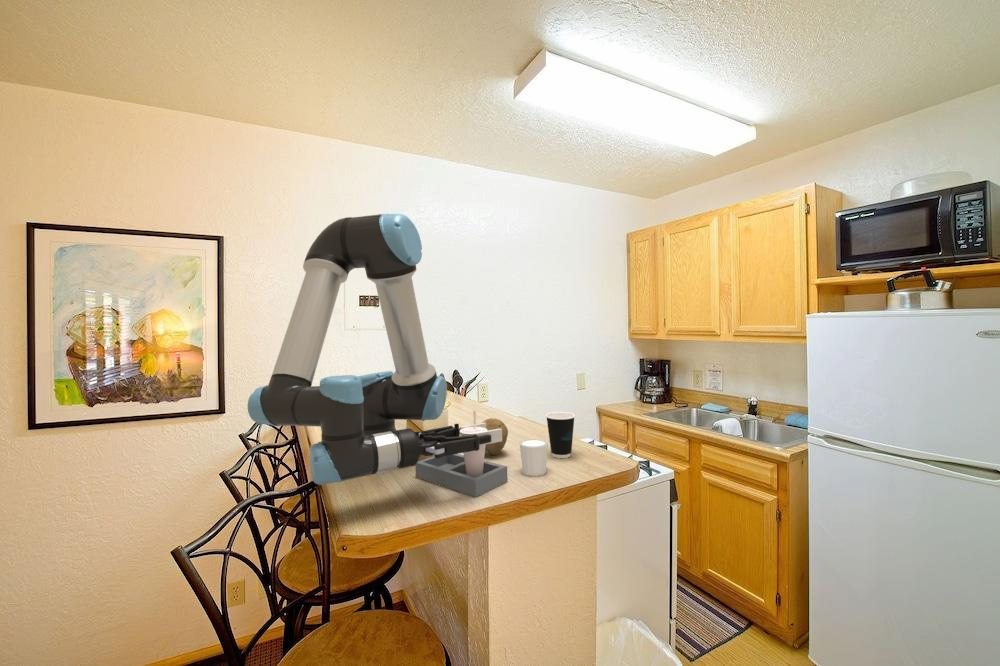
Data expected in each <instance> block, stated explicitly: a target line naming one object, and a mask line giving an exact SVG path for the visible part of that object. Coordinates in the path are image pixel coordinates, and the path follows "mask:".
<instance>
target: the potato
mask: <svg viewBox="0 0 1000 666" xmlns="http://www.w3.org/2000/svg"><path fill="white" fill-rule="evenodd" d="M481 423H486V429H487V431H489V430H495V429H502V441H501V442H496V443H491V444H486V445H485V452H487V453H488V454H490V455H492V456H496V455H498V454H500V453H501V452H502V450H503V449H504V448H505V446H506V443H507V440H508V436H509V435H508V434H509V430H508V427H507V425H506V424H505V423H504V421H502V420H501V419H498V418H492V417H491V418H487V419H485V420H484V421H482V422H481Z"/></svg>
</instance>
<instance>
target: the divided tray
mask: <svg viewBox="0 0 1000 666" xmlns="http://www.w3.org/2000/svg"><path fill="white" fill-rule="evenodd" d="M415 477H416V478H417V477H418V479H420V478H421V479H420V480H423V479H425V480H424V481H426V480H428V481H427V482H429V481H431V482H430V483H432V482H434V483H433V484H435V483H437V484H436V485H438V484H440V485H439V486H441V485H443V486H442V487H444V486H446V487H445V488H447V487H448V489H450V488H451V489H450V490H453V489H454V491H456V490H457V491H456V492H459V491H460V492H459V493H462V492H463V493H462V494H464V493H465V494H464V495H467V494H468V495H467V496H470V495H471V497H473V496H475V497H474V498H478V497H480V496H481V495H484V494H486V493H488V492H490V491H492V490H494V489H496V488H497V487H498V488H499V487H500V486H502V485H505V484H506V483H507V482H508V466H507V465H503V464H500V463H499V464H498V463H495V462H492V461H487V460H484V467H483V474H481V475H478V476H469V475H467V473H466V467H465V460H464V454H461V453H459V454H453V455H447V456H444V457H441V458H435V455H432V456H429V457H427V458H424V459H421V460H418V462H417V464H416V465H415ZM479 495H480V496H479Z"/></svg>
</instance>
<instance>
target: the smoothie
mask: <svg viewBox="0 0 1000 666" xmlns="http://www.w3.org/2000/svg"><path fill="white" fill-rule="evenodd" d="M476 424H477V410H476V409H474V410H473V425H474V427H467V428H463V429H461V430H460V431H459V432H460V434H459V436H468V435H475V433H478V432H484V431H487V429H486V428H483V427H476ZM485 453H486V450H485V445H481V446H479V450H478V451H470V452H464V453H462V455H464V460H465V467H466V473H467V475H469V476H478V475H481V474H483V467H484V461H485Z"/></svg>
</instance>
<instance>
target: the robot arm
mask: <svg viewBox="0 0 1000 666" xmlns="http://www.w3.org/2000/svg"><path fill="white" fill-rule="evenodd" d="M422 250H423V245H422V241H421V237H420V234H419V231H418V229H417V227H416V225H415V224H414V222H413V221H412V220H411V219H410V218H409V217H408V216H406V214H402V213H388V212H387V213H381V214H372V215H362V216H353V217H352V216H349V217H342V218H340V219H337V220H335V221H333V222H331V223H330V224H329V225H328V226H326V227H325V228H324V229H323V230H322V231H321V232H320V234H319V235H318V236H316V238H315V239H314V241H313V242H312V243H311V245H310V247H309V249H308V251H307V254H306V256H305V259H304V261H303V264H302V269H303V271H304V272H305V274H304V277H303V280H302V284H301V286H300V289H299V293H298V296H297V298H296V302H295V304H294V308H293V310H292V312H291V317H290V319H289V322H288V325H287V329H286V332H285V335H284V338H283V340H282V343H281V346H280V349H279V353H278V355H277V359H276V361H275V364H274V367H273V371H272V373H271V376H270V379H269V382H268V384H266V385H264V386H259V387H257V388H256V389H254V391H253V392H252V393H251V394H250V396H249V398H248V401H247V413H248V415H249V418H250V419H251V420H252V421H253V422H255V423H256V424H258V425H267V426H274V427H283V426H284V427H285V426H290V427H291V426H293V427H294V426H297V427H299V426H301V427H320V431H321V437H320V438H321V441H318V442H316V443H313V444H312V445H310V448H309V458H308V459H309V469H310V476H311V479H312V481H313V483H314V484H316V485H327V484H333V483H342V482H344V481H347V480H348V481H349V480H353V479H357V478H361V477H366V476H370V475H375V474H378V475H384V472H390V471H394V470H396V469H397V468H398V469H405V468H410V467H414V466H416V464H417V462H418V461H419V458H420V456H424V457H433V456H435V458H441V457H444V456H447V455H453V454H463V453H464V452H470V451H478V450H479V446H481V445H486V444H491V443H496V442H501V441H502V429H495V430H489V431H484V432H478V433H475V435H468V436H459V434H460V432H459V431H460V430H461V429H463V428H467V427H474V424H469V425H463V426H460V424H459V423H454V426H453V425H448V426H442V427H438V428H437V427H436V428H432V429H428V430H426V429H425V430H423V431H414V429H412V428H405V429H404V428H403V429H398V430H397V428H396V421H397V420H400V421H401V420H402V421H403V420H406V421H408V420H409V421H410V420H411V421H412V420H413V421H423V422H425V421H435V420H437V419H438V418H440V417H441V415H442V413H443V411H444V409H445V406H446V401H447V396H448V395H447V394H448V385H447V379H446V378H445V377H444V376H441V375H439V376H438V375H437V371H436V370H437V369H436V367H435V365H433V364H431V363H429V358H428V354H427V350H426V344H425V339H424V338H425V337H424V333H423V328H422V324H421V319H420V313H419V309H418V305H417V304H418V303H417V299H416V298H417V297H416V293H415V289H414V282H413V278H412V277H413V276H414V274H415V273H416V272H417V265H418V264H419V263H420V262H421V260H422V255H423V252H422ZM354 269H364V270H365V275H366V278H367V279H368V280H369V281H371V282H373V283H374V284H375V287H376V288H375V289H376V292H377V297H378V301H379V306H380V308H381V309H380V310H381V314H382V318H383V322H384V327H385V330H386V335H387V339H388V343H389V348H390V351H391V356H392V361H393V364H394V368H395V371H392V370H386V371H379V372H374V373H368V374H362V375H359V376H357V375H353V374H352V375H351V374H343V375H331V376H330V375H329V376H326V377H323V378H321V379H320V381H319V385H317V386H315V385H314V386H313V385H312V383H313V381H314V378H315V373H316V371H317V367H318V364H319V360H320V356H321V353H322V350H323V346H324V344H325V339H326V335H327V332H328V329H329V325H330V322H331V318H332V315H333V312H334V308H335V304H336V302H337V299H338V298H337V297H338V294H339V292H340V288H341V284H343V283H345V282H346V281H347V279H348V277H349V274H350V272H351V271H352V270H354ZM476 427H483V428H486V423H482V422H481V423H476Z"/></svg>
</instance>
